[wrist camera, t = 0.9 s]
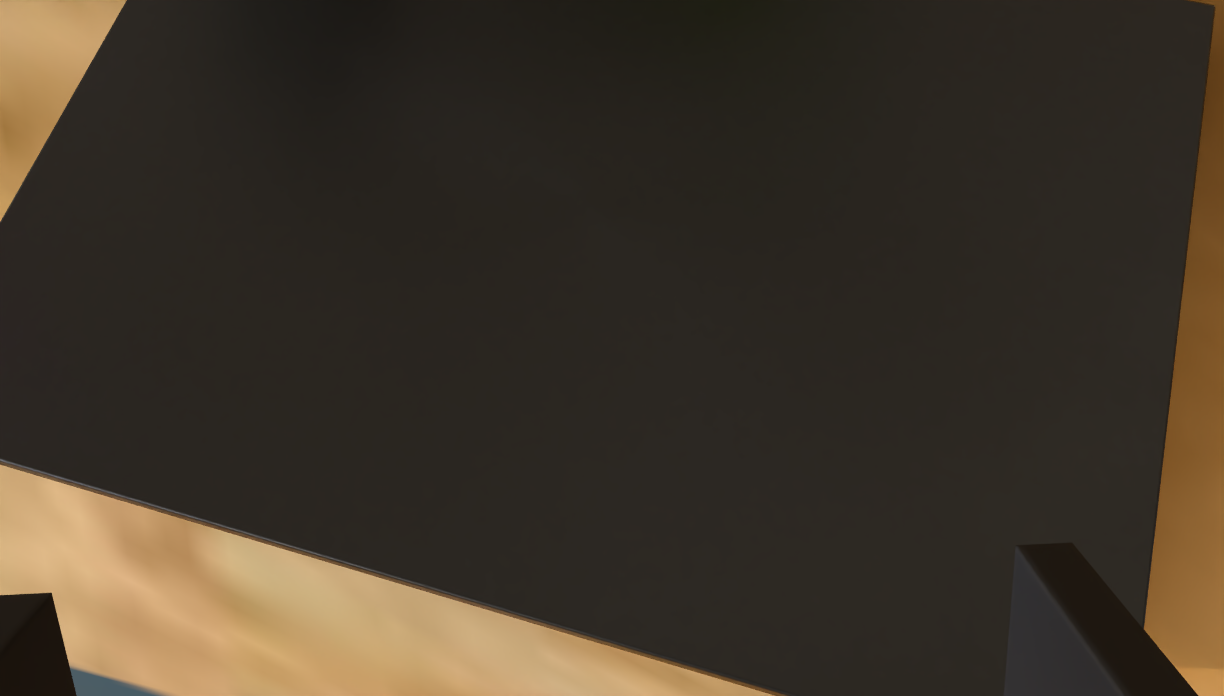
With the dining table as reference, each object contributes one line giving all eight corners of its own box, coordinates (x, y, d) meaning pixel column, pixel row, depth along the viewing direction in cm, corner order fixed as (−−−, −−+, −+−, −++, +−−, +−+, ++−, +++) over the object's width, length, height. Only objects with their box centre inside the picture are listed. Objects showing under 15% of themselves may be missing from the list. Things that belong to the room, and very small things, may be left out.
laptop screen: (1111, 796, 24) (1125, 795, 23) (-98, 436, 28) (-119, 426, 28) (1204, 23, 31) (1216, 4, 31) (237, -160, 36) (228, -180, 35)
